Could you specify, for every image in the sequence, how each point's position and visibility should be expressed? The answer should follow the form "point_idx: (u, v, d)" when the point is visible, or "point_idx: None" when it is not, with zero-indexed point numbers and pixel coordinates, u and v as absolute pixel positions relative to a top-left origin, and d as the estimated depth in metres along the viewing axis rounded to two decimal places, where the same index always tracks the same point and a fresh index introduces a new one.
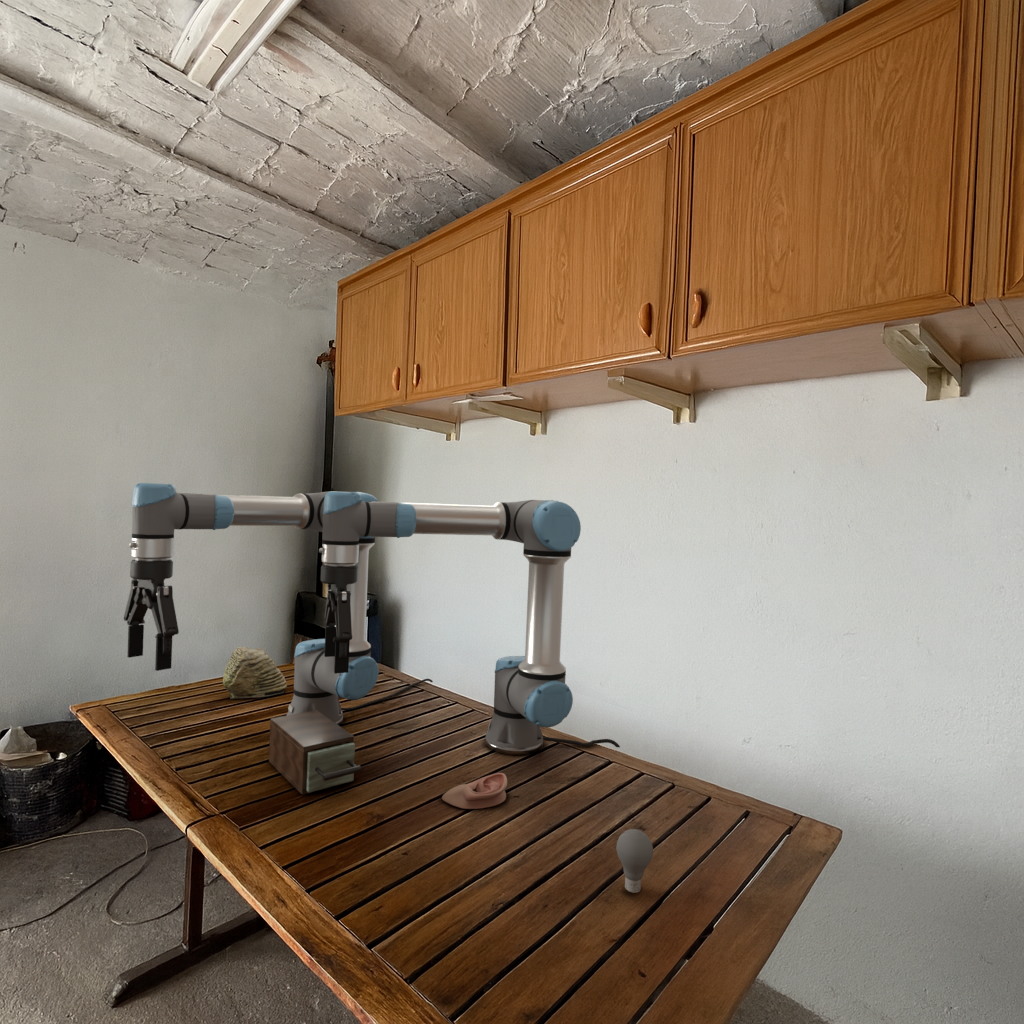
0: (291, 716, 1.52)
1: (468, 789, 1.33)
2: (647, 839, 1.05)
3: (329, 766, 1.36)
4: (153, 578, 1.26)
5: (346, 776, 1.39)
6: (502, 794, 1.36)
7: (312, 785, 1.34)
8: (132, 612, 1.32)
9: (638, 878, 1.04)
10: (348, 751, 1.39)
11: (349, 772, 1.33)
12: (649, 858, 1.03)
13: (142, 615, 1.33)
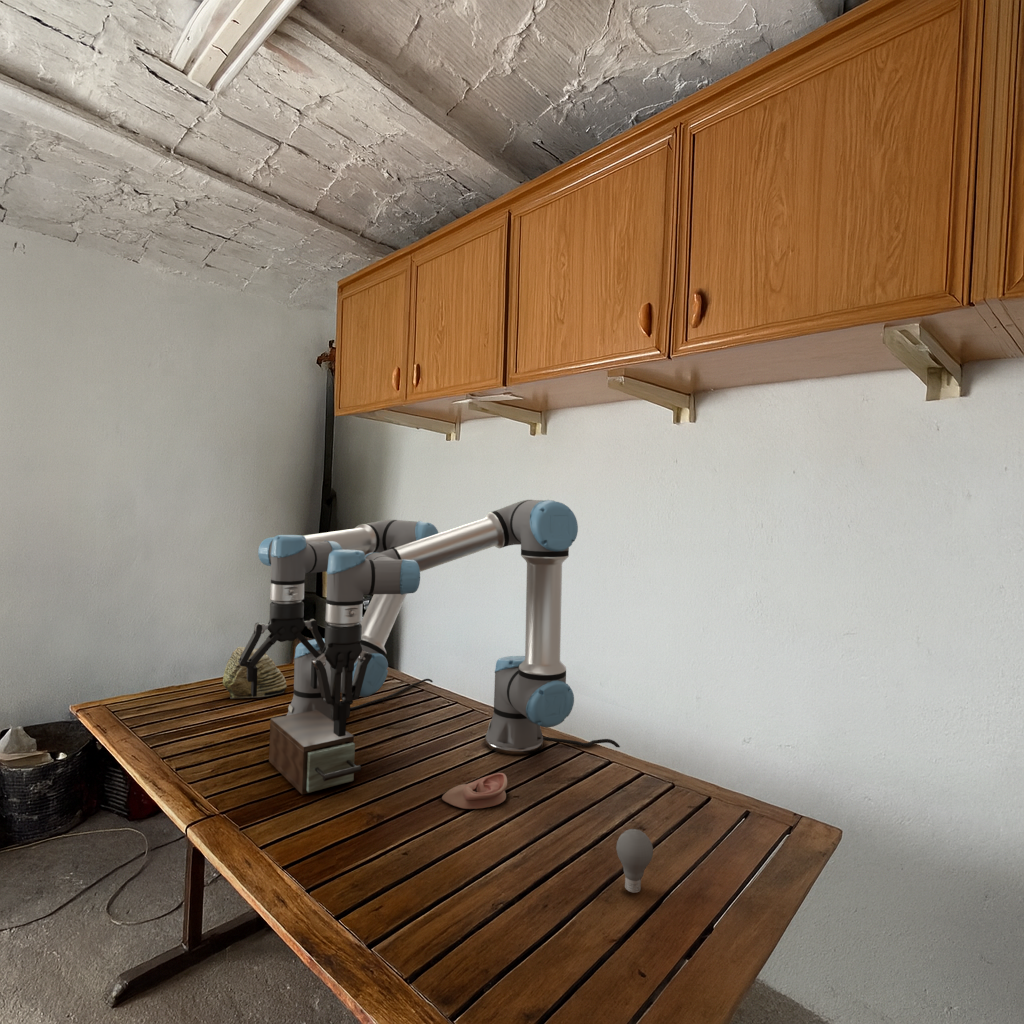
0: (291, 716, 1.52)
1: (468, 789, 1.33)
2: (647, 839, 1.05)
3: (329, 766, 1.36)
4: (303, 615, 1.49)
5: (346, 776, 1.39)
6: (502, 794, 1.36)
7: (312, 785, 1.34)
8: (261, 654, 1.44)
9: (638, 878, 1.04)
10: (348, 751, 1.39)
11: (349, 772, 1.33)
12: (649, 858, 1.03)
13: None
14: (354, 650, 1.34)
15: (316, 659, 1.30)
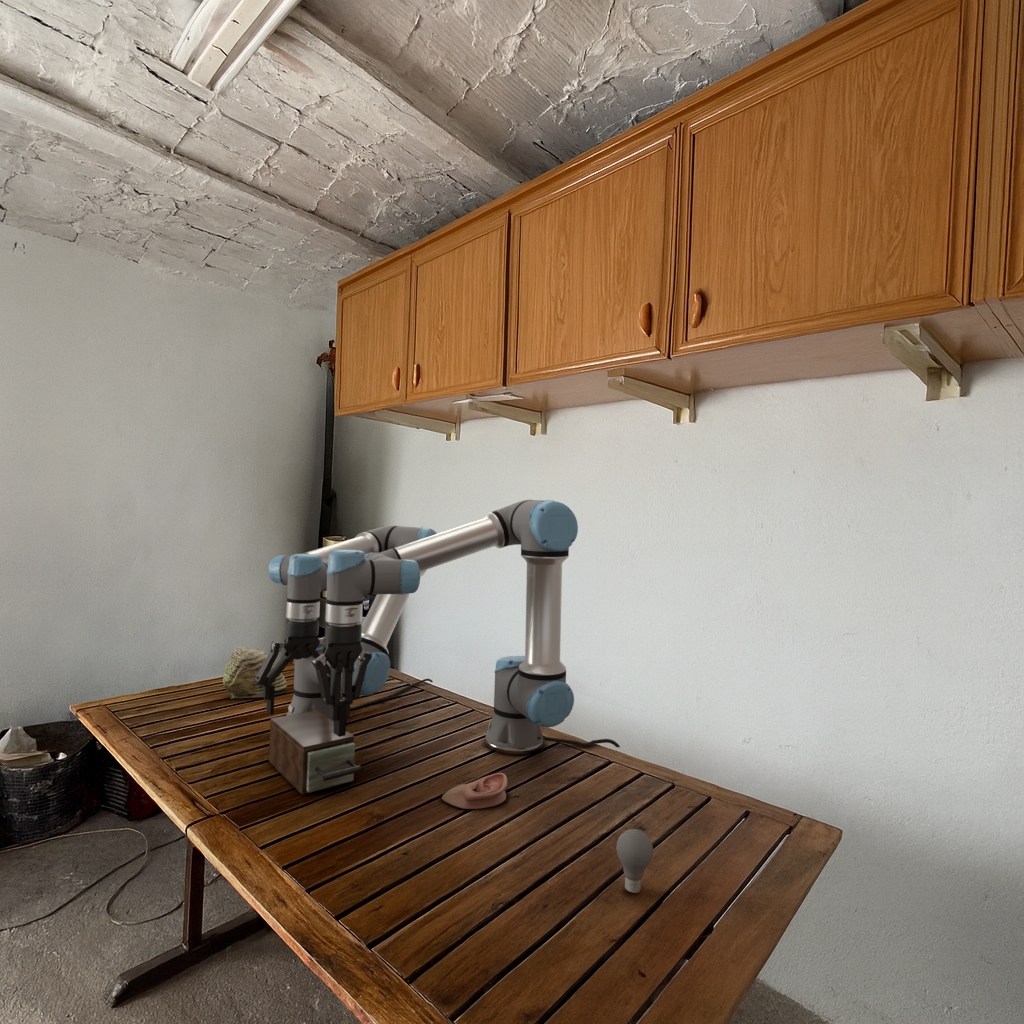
0: (291, 716, 1.52)
1: (468, 789, 1.33)
2: (647, 839, 1.05)
3: (329, 766, 1.36)
4: (318, 633, 1.52)
5: (346, 776, 1.39)
6: (502, 794, 1.36)
7: (312, 785, 1.34)
8: (278, 672, 1.46)
9: (638, 878, 1.04)
10: (348, 751, 1.39)
11: (349, 772, 1.33)
12: (649, 858, 1.03)
13: None
14: (354, 650, 1.34)
15: (316, 659, 1.30)
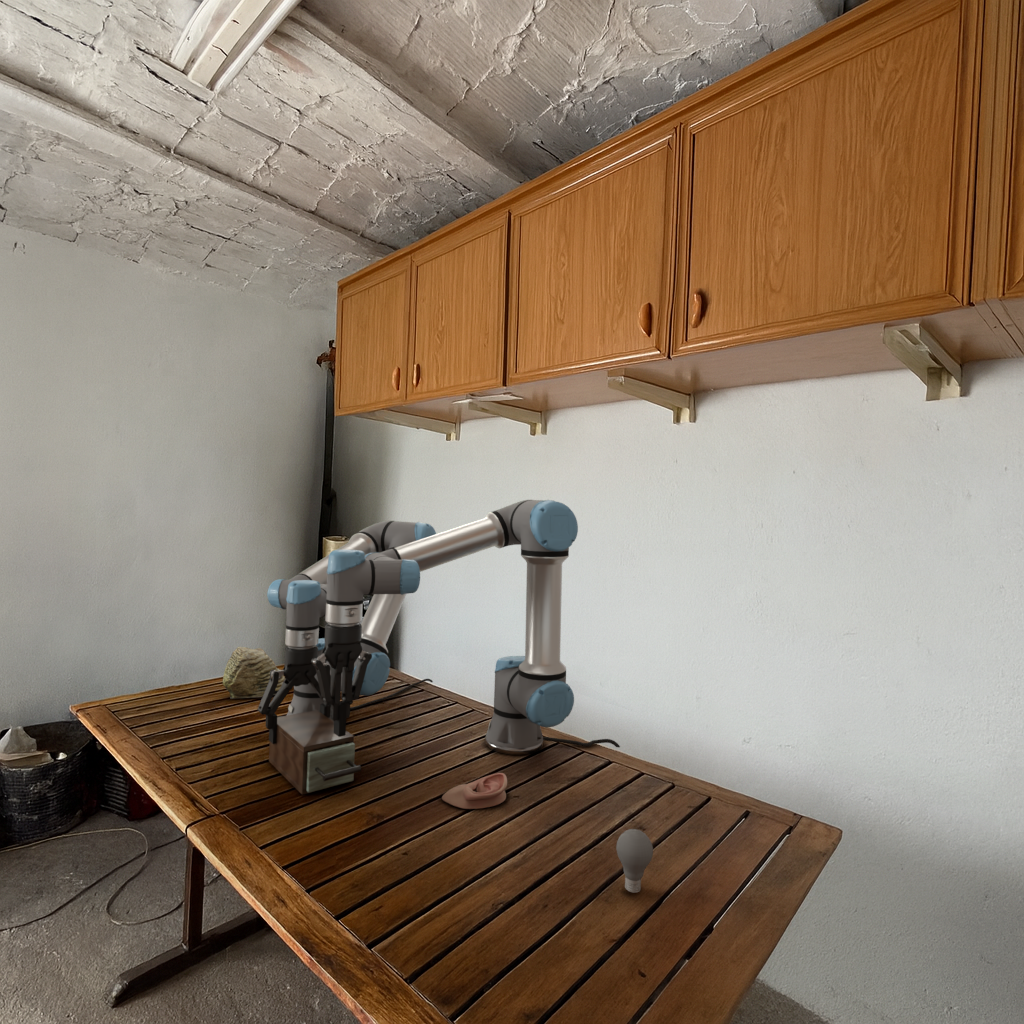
0: (291, 716, 1.52)
1: (468, 789, 1.33)
2: (647, 839, 1.05)
3: (329, 766, 1.36)
4: None
5: (346, 776, 1.39)
6: (502, 794, 1.36)
7: (312, 785, 1.34)
8: (279, 701, 1.47)
9: (638, 878, 1.04)
10: (348, 751, 1.39)
11: (349, 772, 1.33)
12: (649, 858, 1.03)
13: None
14: (354, 650, 1.34)
15: (316, 659, 1.30)
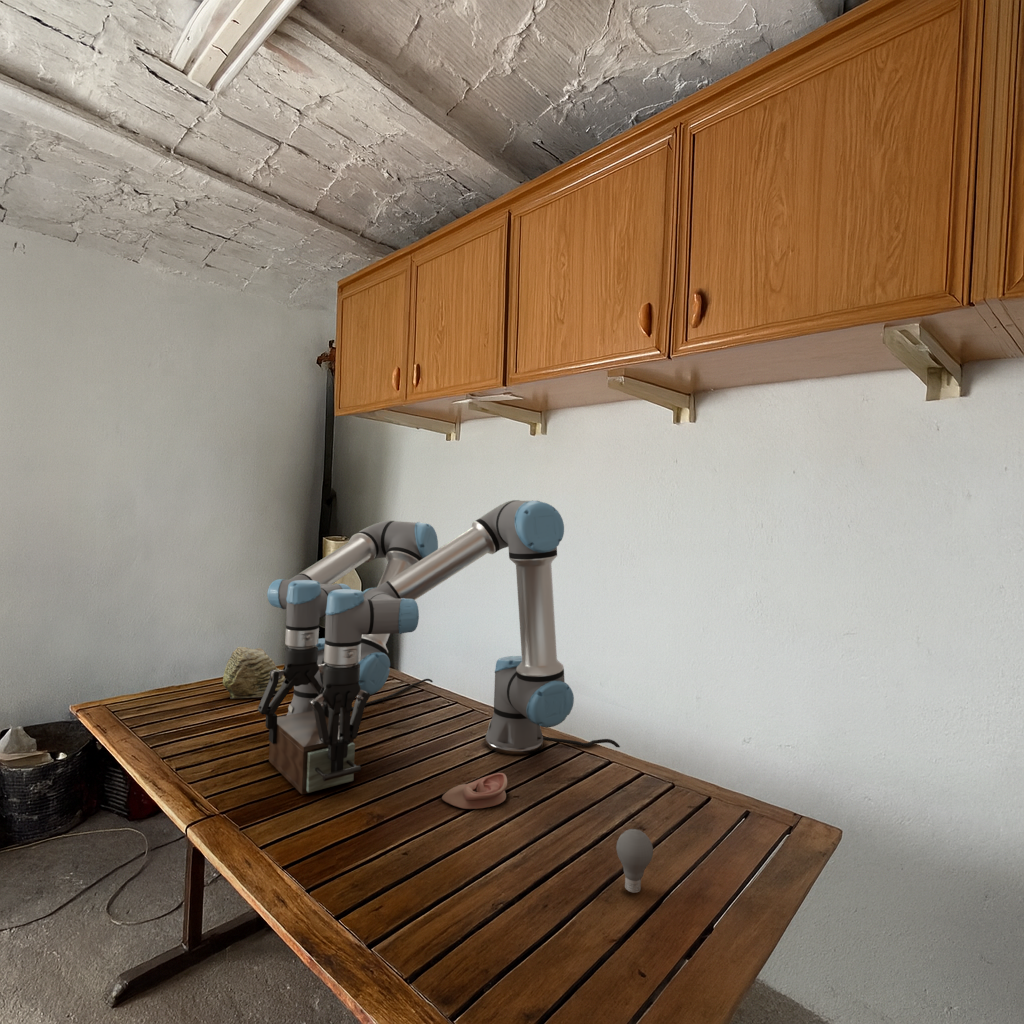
0: (291, 716, 1.52)
1: (468, 789, 1.33)
2: (647, 839, 1.05)
3: (329, 766, 1.36)
4: (317, 659, 1.52)
5: (346, 776, 1.39)
6: (502, 794, 1.36)
7: (312, 785, 1.34)
8: (279, 700, 1.47)
9: (638, 878, 1.04)
10: (348, 751, 1.39)
11: (349, 772, 1.33)
12: (649, 858, 1.03)
13: None
14: (352, 690, 1.34)
15: (314, 700, 1.30)
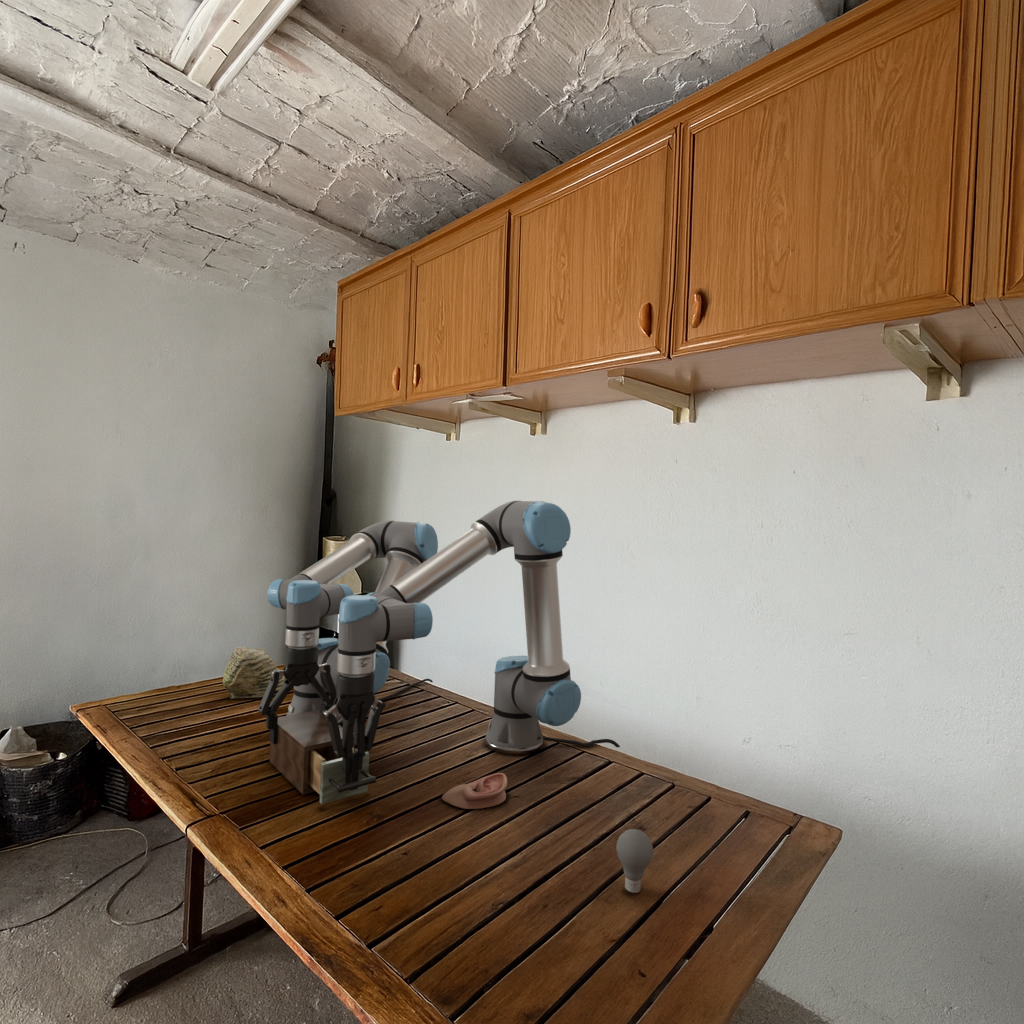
0: (292, 716, 1.52)
1: (468, 789, 1.33)
2: (647, 839, 1.05)
3: (343, 777, 1.31)
4: None
5: (360, 787, 1.34)
6: (502, 794, 1.36)
7: (325, 797, 1.29)
8: (280, 701, 1.47)
9: (638, 878, 1.04)
10: None
11: (364, 783, 1.28)
12: (649, 858, 1.03)
13: None
14: (367, 700, 1.29)
15: (328, 711, 1.25)
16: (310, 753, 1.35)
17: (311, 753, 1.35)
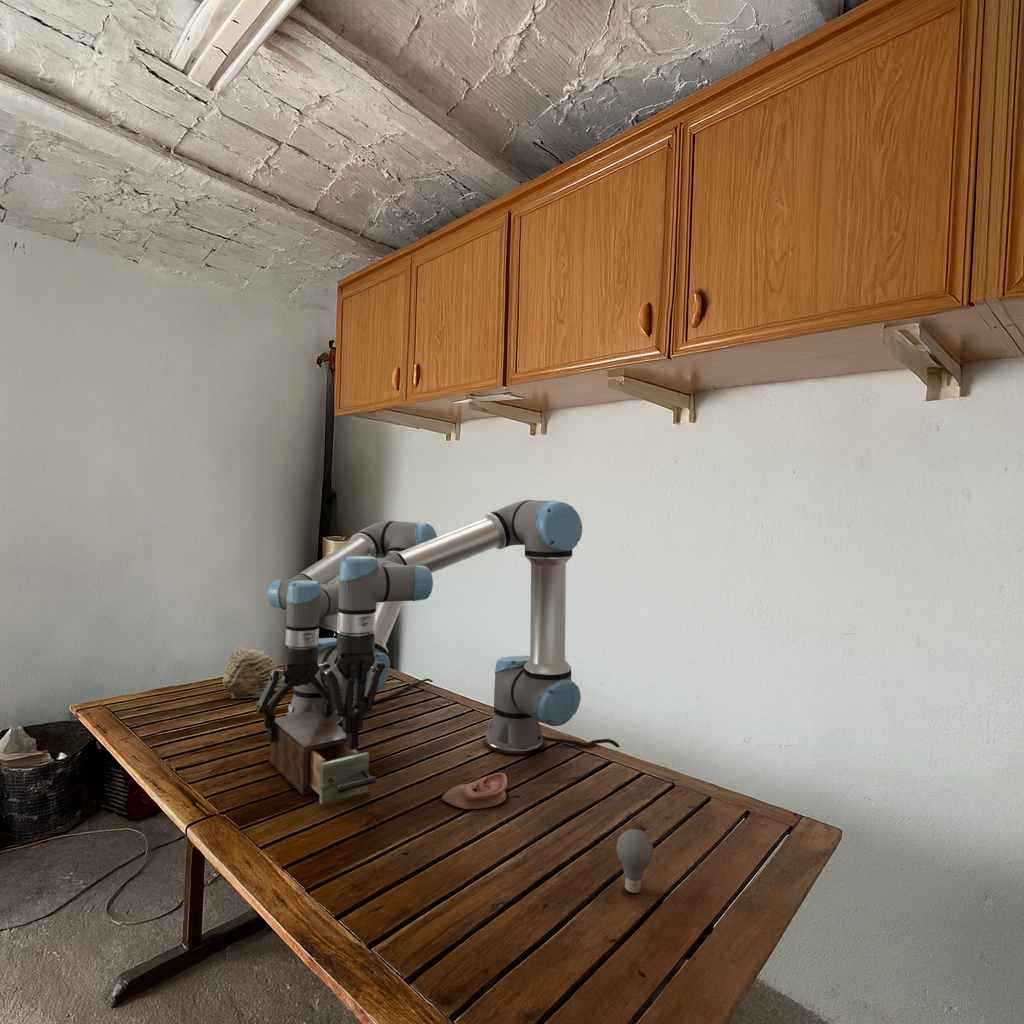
0: (291, 716, 1.52)
1: (468, 789, 1.33)
2: (647, 839, 1.05)
3: (342, 777, 1.31)
4: (317, 659, 1.52)
5: (360, 787, 1.34)
6: (502, 794, 1.36)
7: (325, 797, 1.29)
8: (278, 700, 1.47)
9: (638, 878, 1.04)
10: (362, 761, 1.34)
11: (364, 784, 1.28)
12: (649, 858, 1.03)
13: None
14: (367, 660, 1.30)
15: (328, 670, 1.25)
16: (310, 753, 1.35)
17: (311, 753, 1.35)
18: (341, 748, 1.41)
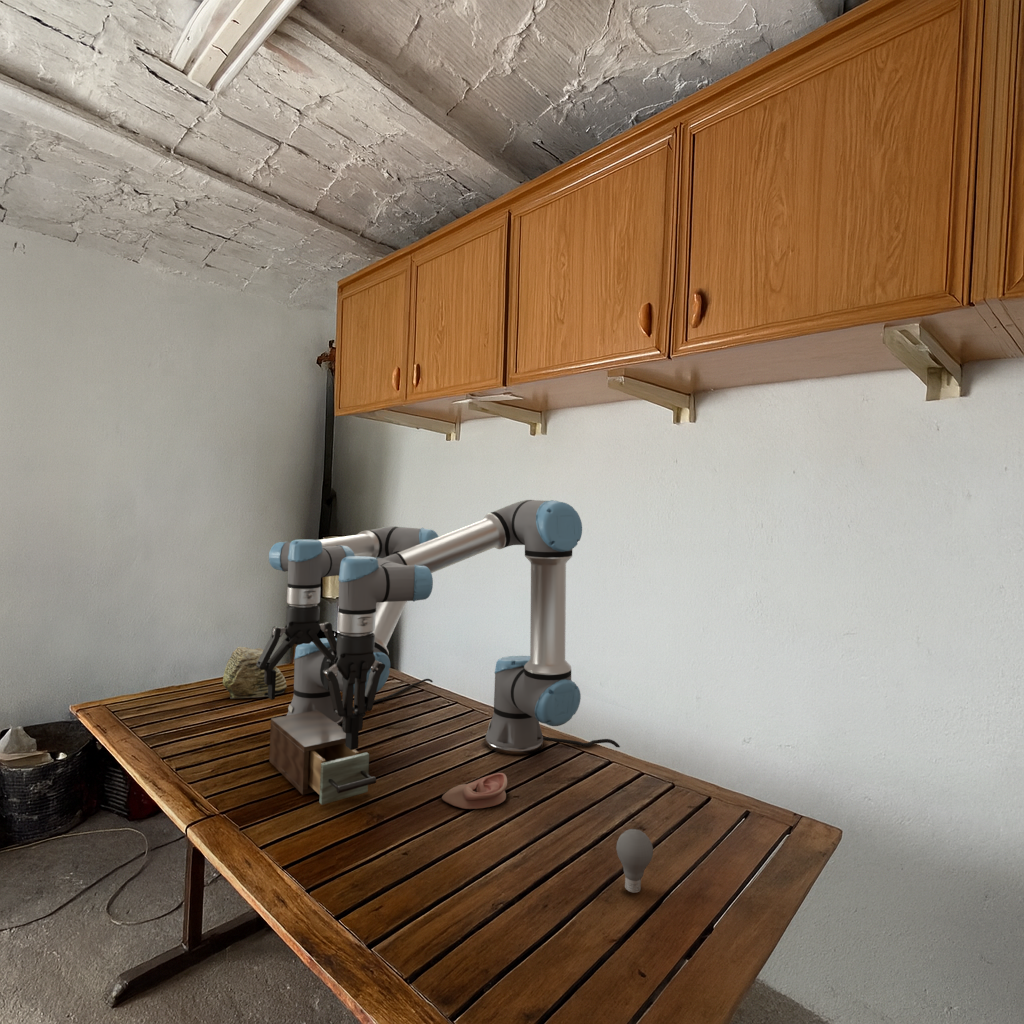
0: (291, 716, 1.52)
1: (468, 789, 1.33)
2: (647, 839, 1.05)
3: (342, 777, 1.31)
4: None
5: (360, 787, 1.34)
6: (502, 794, 1.36)
7: (325, 797, 1.29)
8: (279, 657, 1.46)
9: (638, 878, 1.04)
10: (362, 761, 1.34)
11: (364, 784, 1.28)
12: (649, 858, 1.03)
13: None
14: (367, 660, 1.30)
15: (328, 670, 1.25)
16: (310, 753, 1.35)
17: (311, 753, 1.35)
18: (341, 748, 1.41)
